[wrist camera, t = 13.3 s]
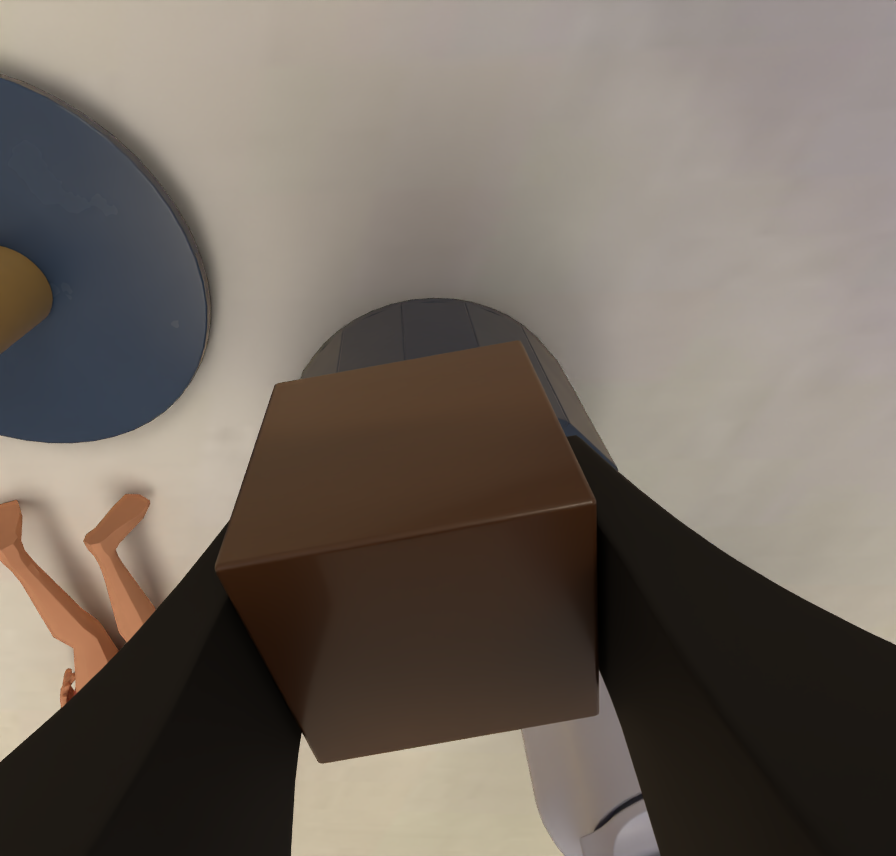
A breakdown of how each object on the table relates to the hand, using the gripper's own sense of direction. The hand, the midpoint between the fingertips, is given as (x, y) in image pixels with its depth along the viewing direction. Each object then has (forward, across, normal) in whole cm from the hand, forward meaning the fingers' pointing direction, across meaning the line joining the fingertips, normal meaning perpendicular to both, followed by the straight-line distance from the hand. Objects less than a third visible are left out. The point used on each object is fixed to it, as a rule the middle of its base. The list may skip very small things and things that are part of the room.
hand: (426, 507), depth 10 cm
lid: (+10, +11, -3) cm, 15 cm away
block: (+1, 0, 0) cm, 1 cm away
